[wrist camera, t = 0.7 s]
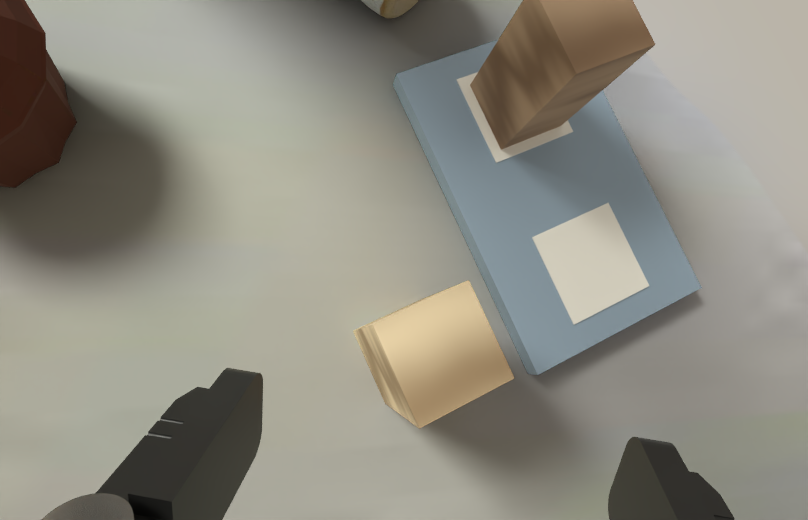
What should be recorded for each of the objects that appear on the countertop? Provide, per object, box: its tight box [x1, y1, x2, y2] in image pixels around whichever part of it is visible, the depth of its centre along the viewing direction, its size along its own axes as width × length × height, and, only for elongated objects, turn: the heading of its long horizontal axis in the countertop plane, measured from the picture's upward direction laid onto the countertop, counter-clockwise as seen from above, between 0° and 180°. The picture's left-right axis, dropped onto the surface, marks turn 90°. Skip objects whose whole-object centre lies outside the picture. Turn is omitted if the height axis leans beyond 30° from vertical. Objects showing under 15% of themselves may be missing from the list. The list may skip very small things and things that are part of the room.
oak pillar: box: [353, 280, 514, 429], centre depth 28 cm, size 5×5×10 cm
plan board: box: [393, 39, 702, 375], centre depth 36 cm, size 22×14×2 cm, turn 25°
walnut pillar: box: [470, 0, 655, 150], centre depth 30 cm, size 5×5×10 cm
